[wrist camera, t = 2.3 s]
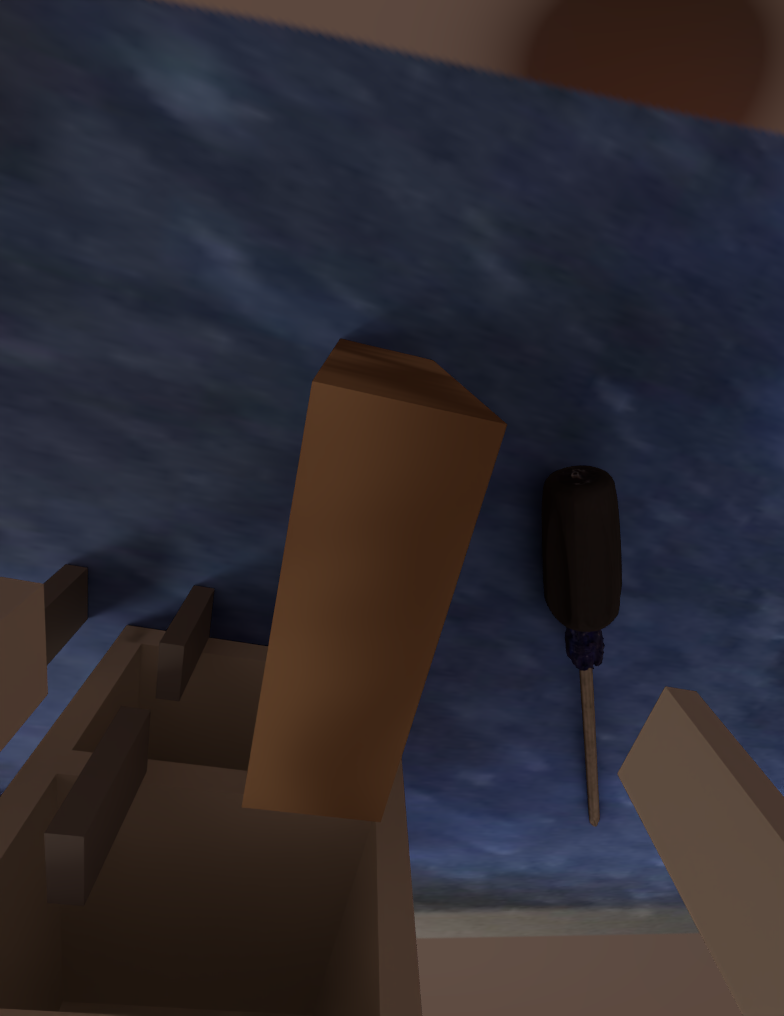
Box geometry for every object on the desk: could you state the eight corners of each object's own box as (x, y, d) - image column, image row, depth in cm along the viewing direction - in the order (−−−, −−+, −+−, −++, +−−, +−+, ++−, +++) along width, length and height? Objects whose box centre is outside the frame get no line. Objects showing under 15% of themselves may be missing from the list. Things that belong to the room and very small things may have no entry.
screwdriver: (619, 816, 33) (649, 876, 30) (565, 826, 33) (588, 888, 30) (594, 446, 23) (635, 472, 20) (518, 463, 23) (545, 492, 20)
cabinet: (69, 830, 31) (-202, 1315, 16) (65, 564, 24) (-416, 986, 9) (339, 856, 33) (319, 1305, 18) (407, 620, 26) (461, 1033, 11)
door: (295, 584, 25) (241, 807, 14) (340, 338, 21) (311, 380, 10) (396, 600, 26) (420, 826, 15) (460, 366, 21) (561, 436, 10)
